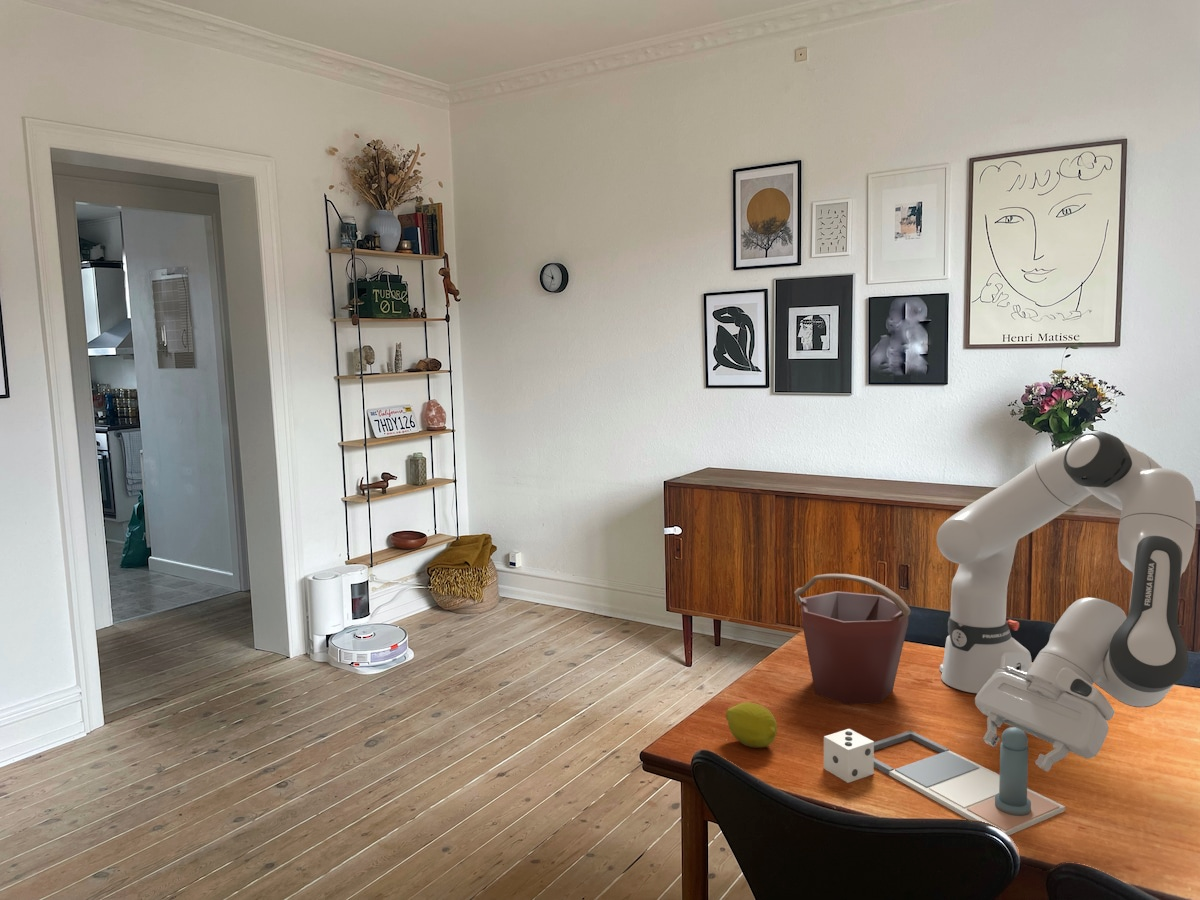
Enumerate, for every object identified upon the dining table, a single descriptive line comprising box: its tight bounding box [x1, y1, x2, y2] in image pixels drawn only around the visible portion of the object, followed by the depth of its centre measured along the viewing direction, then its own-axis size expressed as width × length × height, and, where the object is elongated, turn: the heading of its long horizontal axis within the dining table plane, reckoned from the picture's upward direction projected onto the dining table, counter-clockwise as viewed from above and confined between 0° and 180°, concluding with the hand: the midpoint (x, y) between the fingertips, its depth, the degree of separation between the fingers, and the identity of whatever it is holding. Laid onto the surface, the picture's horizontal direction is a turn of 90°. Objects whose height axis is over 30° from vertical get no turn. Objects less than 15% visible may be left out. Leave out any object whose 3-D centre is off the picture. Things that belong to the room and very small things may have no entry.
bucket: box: [793, 573, 911, 705], centre depth 188 cm, size 24×22×25 cm
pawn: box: [995, 726, 1031, 816], centre depth 138 cm, size 5×5×13 cm
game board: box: [874, 729, 1066, 837], centre depth 149 cm, size 15×32×1 cm, turn 28°
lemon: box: [725, 701, 778, 749], centre depth 164 cm, size 11×8×8 cm
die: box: [823, 728, 875, 784], centre depth 153 cm, size 6×6×6 cm
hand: (1014, 755), depth 138 cm, fingers open, 8 cm apart
